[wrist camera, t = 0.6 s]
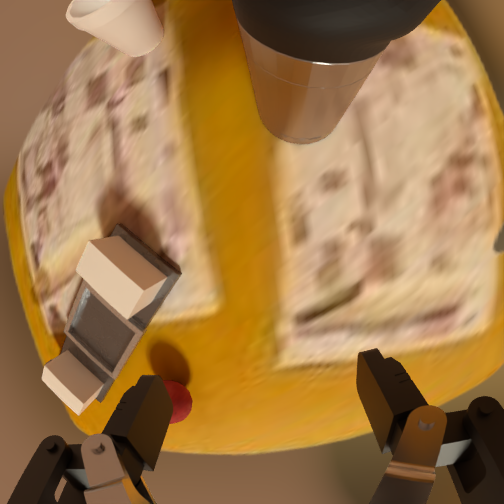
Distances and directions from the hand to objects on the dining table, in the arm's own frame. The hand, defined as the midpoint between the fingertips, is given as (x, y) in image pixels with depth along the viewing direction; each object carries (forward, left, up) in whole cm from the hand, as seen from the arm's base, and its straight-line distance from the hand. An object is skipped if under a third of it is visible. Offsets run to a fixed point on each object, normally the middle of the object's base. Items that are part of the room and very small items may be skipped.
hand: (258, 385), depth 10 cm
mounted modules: (+9, -22, -21) cm, 32 cm away
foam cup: (-32, -18, -21) cm, 42 cm away
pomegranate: (+17, -12, -21) cm, 29 cm away
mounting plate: (+9, -22, -21) cm, 32 cm away
